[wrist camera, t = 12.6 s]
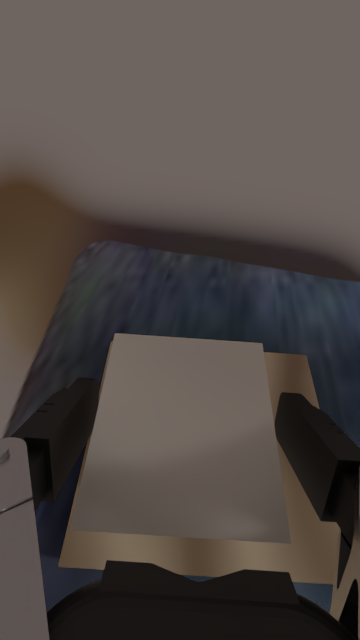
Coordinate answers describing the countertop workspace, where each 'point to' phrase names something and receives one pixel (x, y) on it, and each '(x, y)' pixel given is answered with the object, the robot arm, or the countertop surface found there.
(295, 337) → the countertop surface
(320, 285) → the countertop surface
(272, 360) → the board
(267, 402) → the light grey cuboid block
